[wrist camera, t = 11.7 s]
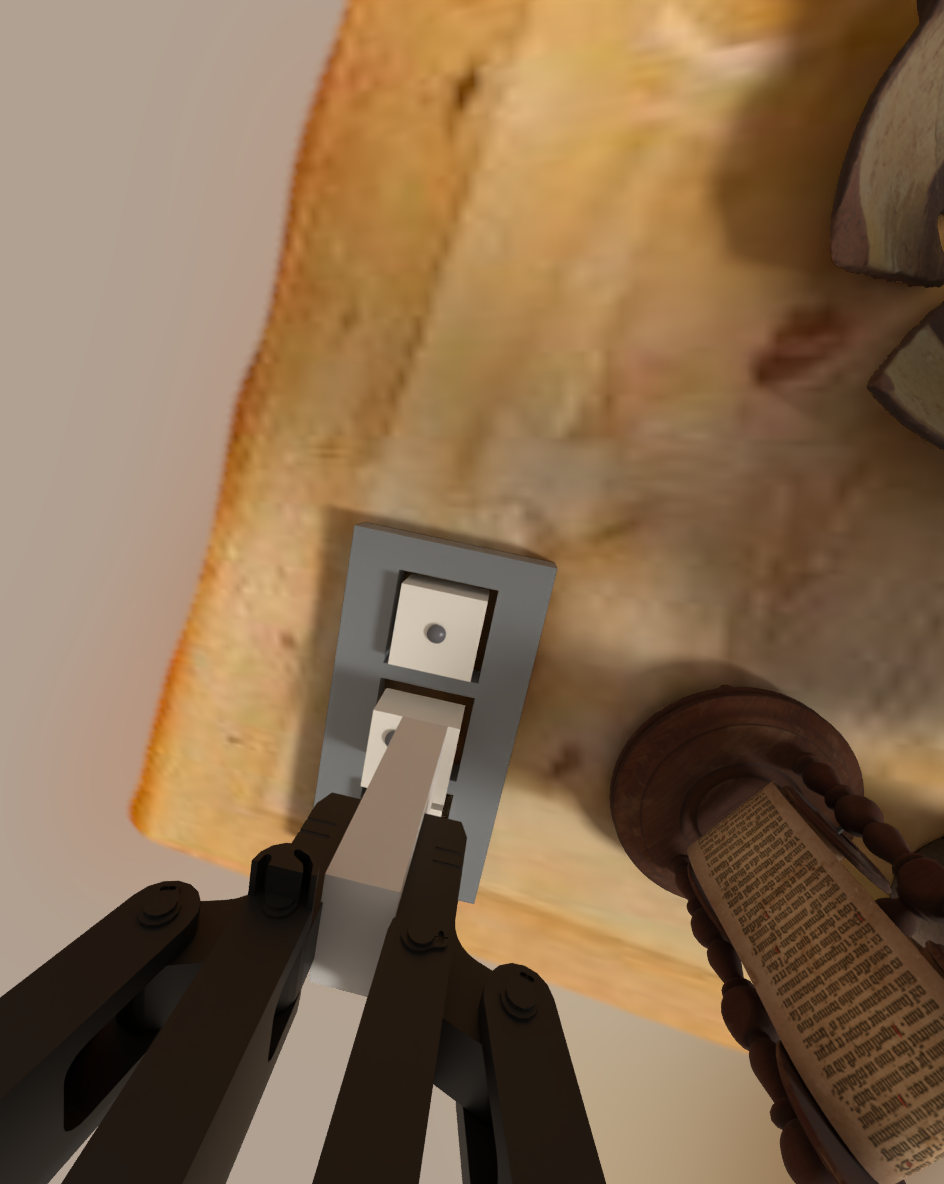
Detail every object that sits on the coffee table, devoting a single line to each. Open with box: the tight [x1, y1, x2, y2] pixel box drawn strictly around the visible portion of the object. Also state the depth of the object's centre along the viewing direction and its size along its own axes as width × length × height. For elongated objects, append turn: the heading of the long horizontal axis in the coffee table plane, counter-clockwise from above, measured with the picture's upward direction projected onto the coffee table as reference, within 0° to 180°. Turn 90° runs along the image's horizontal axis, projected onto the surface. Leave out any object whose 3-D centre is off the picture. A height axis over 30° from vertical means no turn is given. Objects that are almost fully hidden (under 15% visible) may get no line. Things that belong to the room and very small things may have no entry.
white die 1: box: [388, 573, 490, 682], centre depth 30 cm, size 5×5×3 cm
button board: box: [314, 522, 557, 904], centre depth 33 cm, size 24×12×2 cm, turn 169°
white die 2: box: [361, 688, 465, 805], centre depth 30 cm, size 5×5×3 cm
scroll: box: [610, 685, 944, 1184], centre depth 23 cm, size 15×15×20 cm
